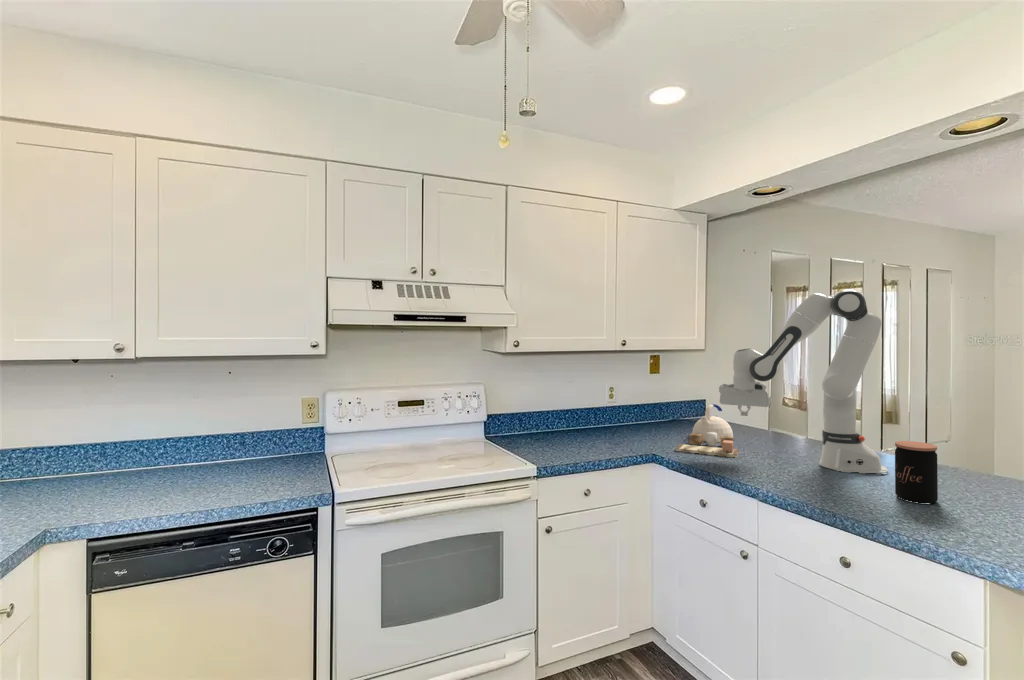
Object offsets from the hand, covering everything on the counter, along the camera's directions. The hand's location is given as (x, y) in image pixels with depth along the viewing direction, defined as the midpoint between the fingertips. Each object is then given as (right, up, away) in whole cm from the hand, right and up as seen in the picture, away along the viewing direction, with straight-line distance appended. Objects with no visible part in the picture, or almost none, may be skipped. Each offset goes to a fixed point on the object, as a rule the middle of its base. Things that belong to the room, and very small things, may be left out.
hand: (744, 415), depth 215 cm
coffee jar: (+28, -18, -59) cm, 67 cm away
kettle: (+1, -18, +38) cm, 42 cm away
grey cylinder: (-5, -18, +22) cm, 29 cm away
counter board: (-13, -18, +8) cm, 24 cm away
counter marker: (-6, -16, +3) cm, 18 cm away
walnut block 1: (-12, -18, +25) cm, 33 cm away
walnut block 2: (0, -18, +18) cm, 25 cm away
